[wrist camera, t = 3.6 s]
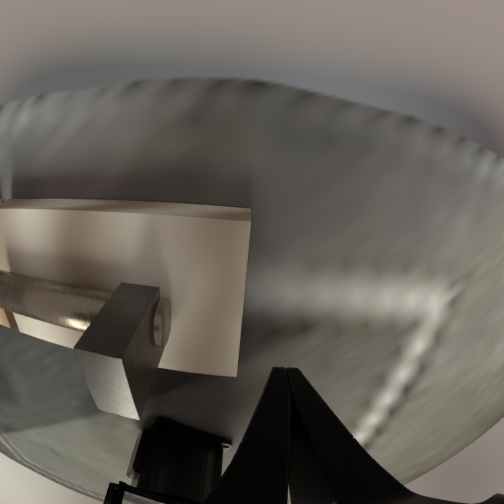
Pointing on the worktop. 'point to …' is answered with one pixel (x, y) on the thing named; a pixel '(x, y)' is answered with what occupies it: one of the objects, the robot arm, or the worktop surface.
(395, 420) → the worktop surface
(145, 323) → the bolt
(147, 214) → the door jamb
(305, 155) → the worktop surface
